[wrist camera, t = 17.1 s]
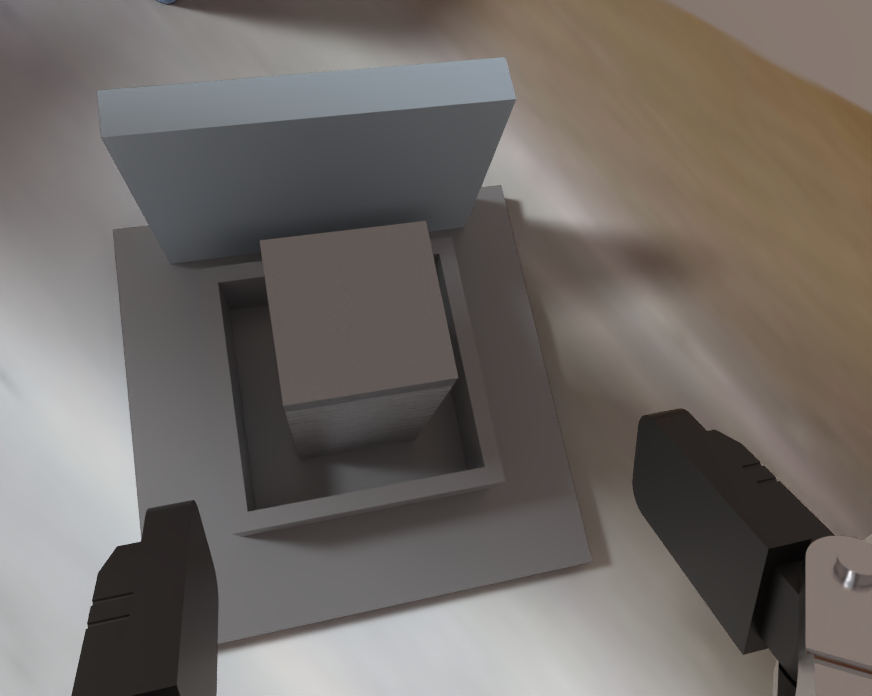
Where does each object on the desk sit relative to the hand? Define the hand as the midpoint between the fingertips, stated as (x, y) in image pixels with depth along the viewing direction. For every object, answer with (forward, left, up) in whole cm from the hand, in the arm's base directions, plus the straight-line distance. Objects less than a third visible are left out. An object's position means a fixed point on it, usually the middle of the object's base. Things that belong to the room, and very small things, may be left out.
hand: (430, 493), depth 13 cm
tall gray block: (0, +5, -15) cm, 15 cm away
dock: (0, +5, -16) cm, 17 cm away
